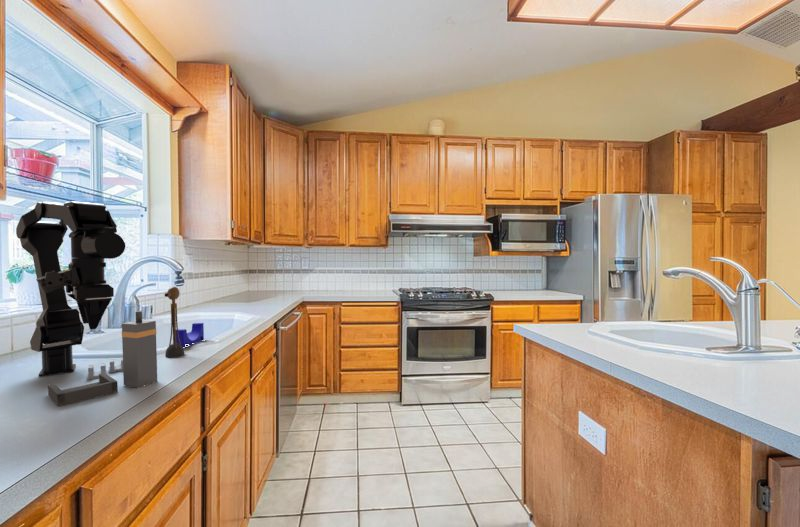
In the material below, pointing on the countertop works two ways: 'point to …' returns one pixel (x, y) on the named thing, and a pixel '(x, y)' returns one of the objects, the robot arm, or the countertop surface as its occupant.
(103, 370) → the clips
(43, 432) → the countertop surface
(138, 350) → the connector
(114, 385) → the dark grey square tray
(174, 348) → the wooden tabletop sculpture
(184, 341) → the cable clip
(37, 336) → the robot arm
